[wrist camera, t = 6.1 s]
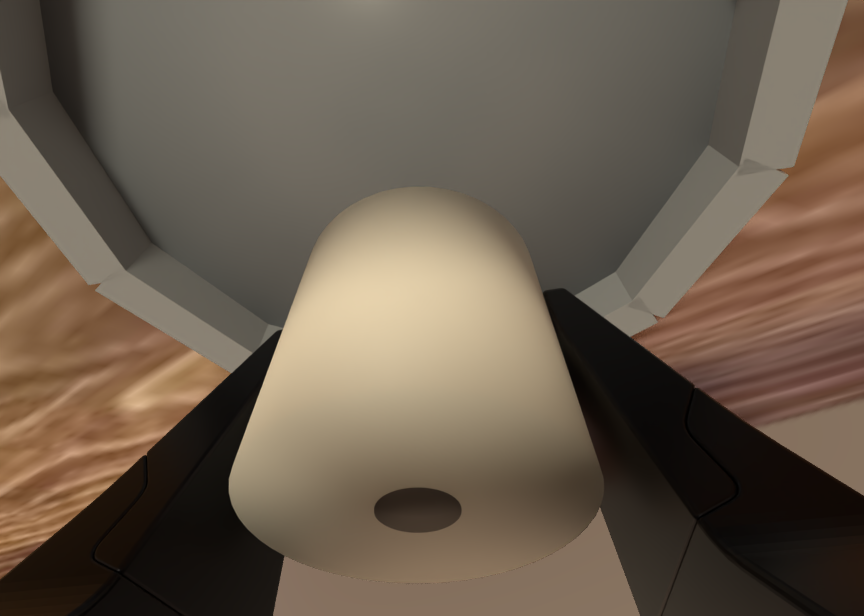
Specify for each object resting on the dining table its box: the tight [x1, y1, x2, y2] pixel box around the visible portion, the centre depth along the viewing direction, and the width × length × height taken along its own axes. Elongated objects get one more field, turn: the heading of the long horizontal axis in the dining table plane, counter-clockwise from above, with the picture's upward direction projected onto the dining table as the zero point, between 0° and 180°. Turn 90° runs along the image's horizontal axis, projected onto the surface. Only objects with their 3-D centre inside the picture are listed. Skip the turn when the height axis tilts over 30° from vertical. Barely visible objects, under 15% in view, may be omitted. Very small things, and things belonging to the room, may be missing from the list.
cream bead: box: [229, 187, 604, 584], centre depth 8 cm, size 5×5×5 cm
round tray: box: [0, 0, 848, 373], centre depth 11 cm, size 17×17×3 cm
